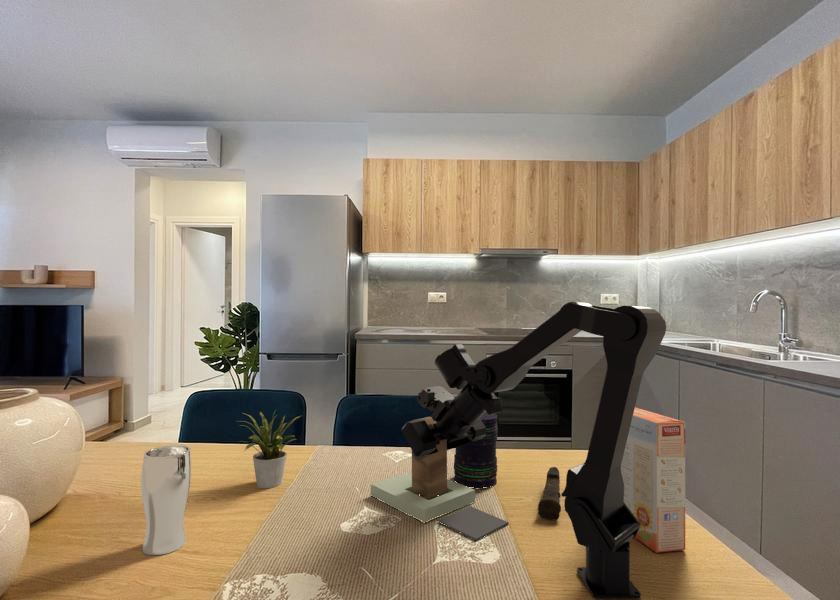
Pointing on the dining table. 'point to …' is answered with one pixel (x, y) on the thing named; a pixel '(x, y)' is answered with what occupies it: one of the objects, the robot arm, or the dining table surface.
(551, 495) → the hand tool
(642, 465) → the cracker box
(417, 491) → the wooden block
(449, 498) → the square socket block
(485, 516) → the rubber mat
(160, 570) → the dining table surface
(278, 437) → the house plant
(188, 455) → the beer glass
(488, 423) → the storage jar
